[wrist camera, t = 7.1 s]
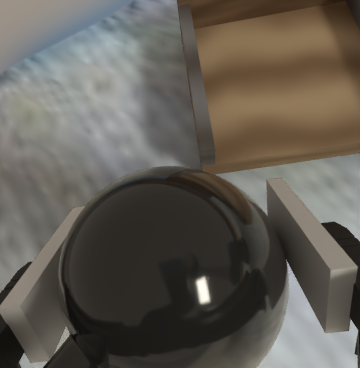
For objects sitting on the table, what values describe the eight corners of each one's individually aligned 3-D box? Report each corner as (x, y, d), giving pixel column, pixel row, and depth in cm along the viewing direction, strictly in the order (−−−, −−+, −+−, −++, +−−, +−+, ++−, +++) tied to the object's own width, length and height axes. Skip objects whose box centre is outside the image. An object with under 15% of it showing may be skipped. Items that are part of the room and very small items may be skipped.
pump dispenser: (95, 289, 20) (-196, 306, 6) (182, 184, 22) (126, 5, 8) (205, 400, 17) (162, 1022, 3) (294, 264, 19) (537, 210, 5)
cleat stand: (405, 146, 21) (559, 37, 12) (202, 175, 22) (195, 98, 13) (342, 10, 26) (413, -139, 17) (182, 39, 28) (165, -85, 18)
